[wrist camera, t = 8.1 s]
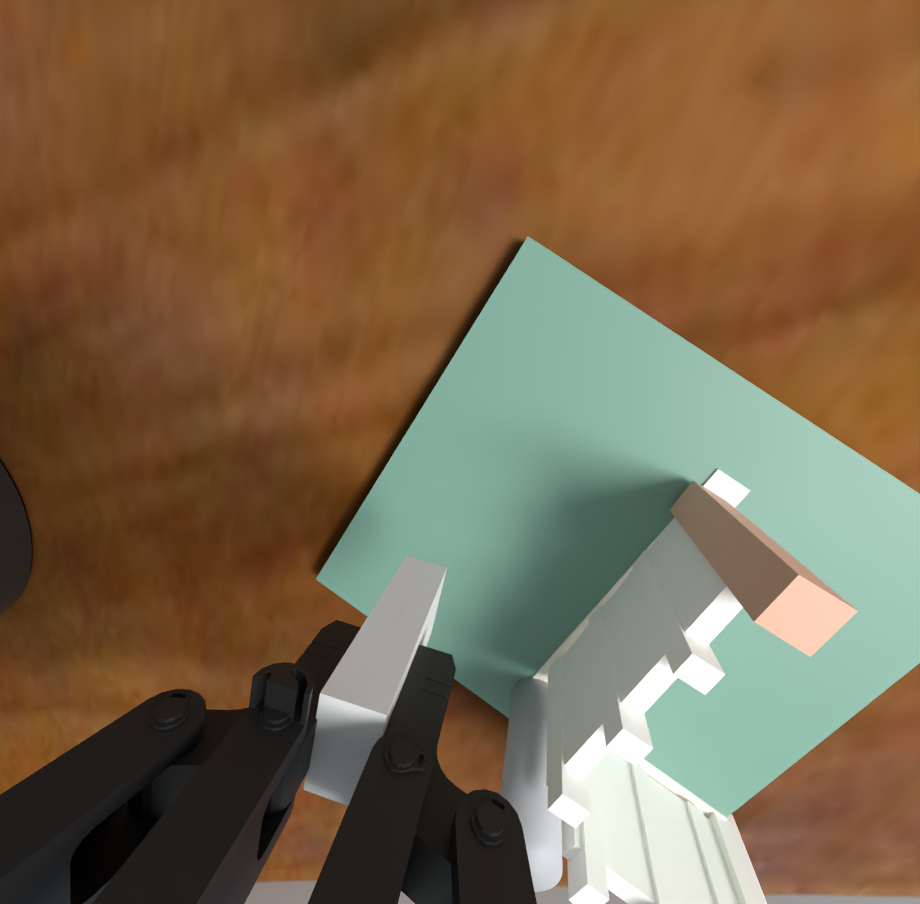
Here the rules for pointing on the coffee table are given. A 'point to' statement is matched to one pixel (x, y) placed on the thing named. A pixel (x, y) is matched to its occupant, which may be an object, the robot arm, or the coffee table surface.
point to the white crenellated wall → (672, 636)
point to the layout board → (633, 522)
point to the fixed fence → (619, 827)
